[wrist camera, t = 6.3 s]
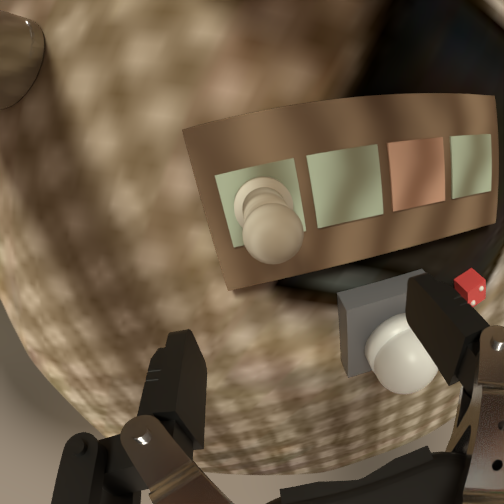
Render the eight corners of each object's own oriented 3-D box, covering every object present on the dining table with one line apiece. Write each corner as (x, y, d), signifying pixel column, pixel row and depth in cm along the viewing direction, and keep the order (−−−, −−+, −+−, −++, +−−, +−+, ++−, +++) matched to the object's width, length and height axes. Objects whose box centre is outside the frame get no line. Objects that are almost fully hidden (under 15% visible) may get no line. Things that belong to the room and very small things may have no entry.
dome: (362, 369, 30) (383, 417, 24) (363, 322, 27) (391, 373, 21) (417, 350, 30) (444, 392, 24) (425, 302, 27) (460, 345, 21)
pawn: (241, 236, 25) (246, 289, 18) (227, 183, 23) (227, 217, 16) (295, 224, 24) (321, 271, 17) (285, 170, 23) (311, 198, 15)
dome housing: (340, 359, 34) (348, 377, 31) (336, 292, 30) (346, 310, 27) (414, 336, 34) (424, 351, 31) (421, 268, 29) (436, 282, 27)
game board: (227, 281, 28) (228, 292, 27) (185, 129, 22) (181, 130, 21) (487, 217, 27) (496, 223, 26) (485, 95, 21) (495, 96, 20)
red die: (455, 297, 32) (469, 312, 29) (453, 279, 30) (469, 294, 27) (472, 285, 31) (487, 299, 28) (471, 267, 30) (487, 281, 27)
